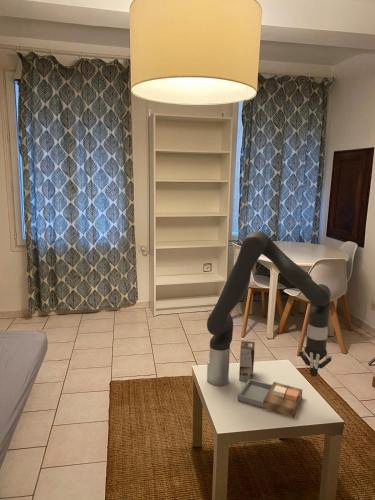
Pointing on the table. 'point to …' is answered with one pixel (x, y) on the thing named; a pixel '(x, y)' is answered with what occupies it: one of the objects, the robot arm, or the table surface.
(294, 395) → the tile
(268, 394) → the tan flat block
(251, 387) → the bin
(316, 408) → the table surface
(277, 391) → the tile
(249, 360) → the coffee box
